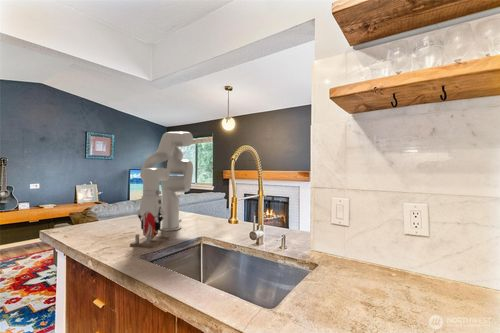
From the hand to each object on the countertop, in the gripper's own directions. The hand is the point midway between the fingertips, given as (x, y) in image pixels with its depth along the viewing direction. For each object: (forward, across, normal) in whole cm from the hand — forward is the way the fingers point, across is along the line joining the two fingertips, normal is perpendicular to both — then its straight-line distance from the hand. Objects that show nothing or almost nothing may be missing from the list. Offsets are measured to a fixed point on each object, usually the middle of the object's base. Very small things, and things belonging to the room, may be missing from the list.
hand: (150, 229), depth 121 cm
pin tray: (+7, 0, 0) cm, 7 cm away
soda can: (+3, 0, 0) cm, 3 cm away
